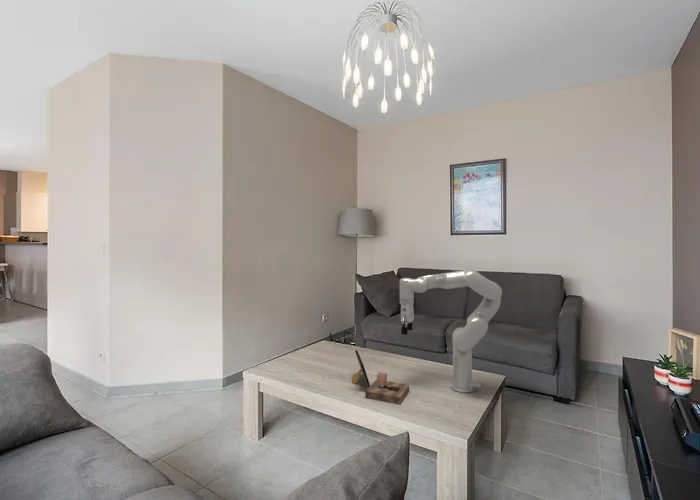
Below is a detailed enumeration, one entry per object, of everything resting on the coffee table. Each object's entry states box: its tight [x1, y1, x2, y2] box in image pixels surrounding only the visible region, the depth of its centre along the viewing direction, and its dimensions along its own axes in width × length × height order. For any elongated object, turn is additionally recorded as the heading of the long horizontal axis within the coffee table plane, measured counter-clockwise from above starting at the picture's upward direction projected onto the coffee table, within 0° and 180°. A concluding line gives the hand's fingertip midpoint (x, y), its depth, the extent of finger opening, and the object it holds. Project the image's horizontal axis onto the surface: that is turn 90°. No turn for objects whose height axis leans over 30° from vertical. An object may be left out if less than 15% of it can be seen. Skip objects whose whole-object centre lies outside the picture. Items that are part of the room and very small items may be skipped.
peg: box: [376, 372, 388, 388], centre depth 180 cm, size 4×4×10 cm
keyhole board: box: [364, 378, 410, 405], centre depth 179 cm, size 18×16×4 cm
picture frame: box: [351, 349, 371, 389], centre depth 194 cm, size 23×9×15 cm, turn 7°
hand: (407, 332), depth 191 cm, fingers open, 9 cm apart
